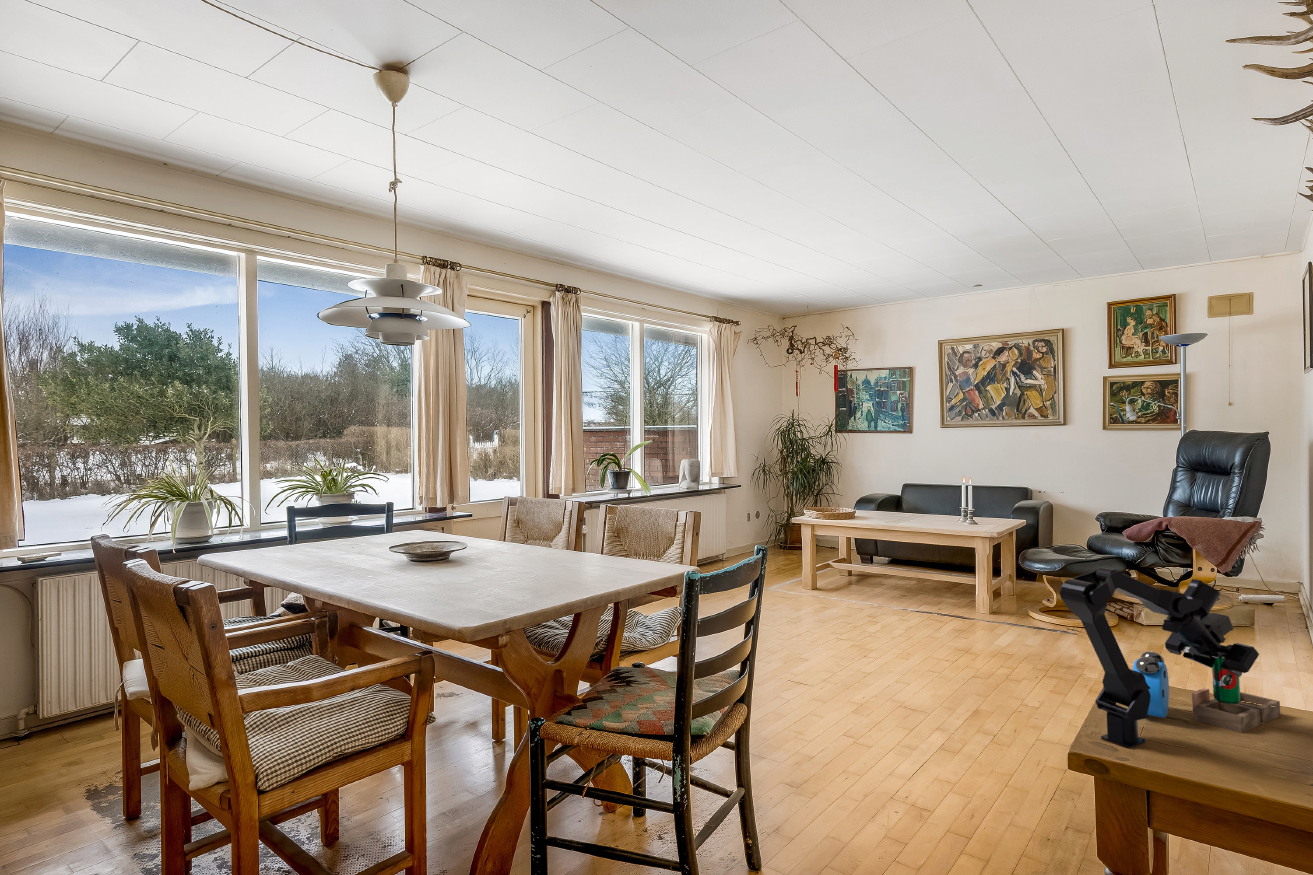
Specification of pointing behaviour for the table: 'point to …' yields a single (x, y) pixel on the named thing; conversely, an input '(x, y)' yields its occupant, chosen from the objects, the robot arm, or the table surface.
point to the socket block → (1234, 711)
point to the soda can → (1224, 683)
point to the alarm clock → (1155, 682)
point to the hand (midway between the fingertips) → (1229, 671)
